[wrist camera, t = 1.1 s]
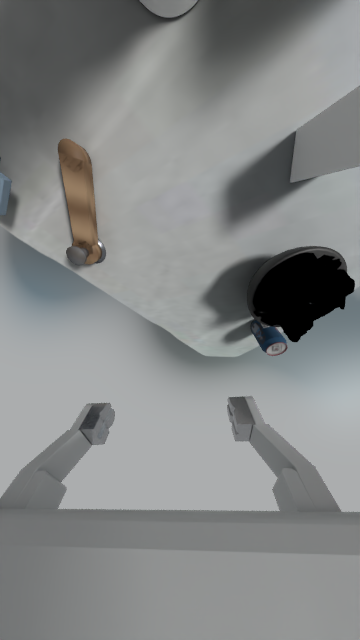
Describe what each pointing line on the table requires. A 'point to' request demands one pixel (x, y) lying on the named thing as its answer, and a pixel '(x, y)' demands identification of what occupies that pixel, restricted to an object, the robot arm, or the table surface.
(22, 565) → the robot arm
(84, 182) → the link
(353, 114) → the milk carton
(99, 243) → the pin washer
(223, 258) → the table surface
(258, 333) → the soda can
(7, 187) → the keeper
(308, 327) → the bowl of black rocks
